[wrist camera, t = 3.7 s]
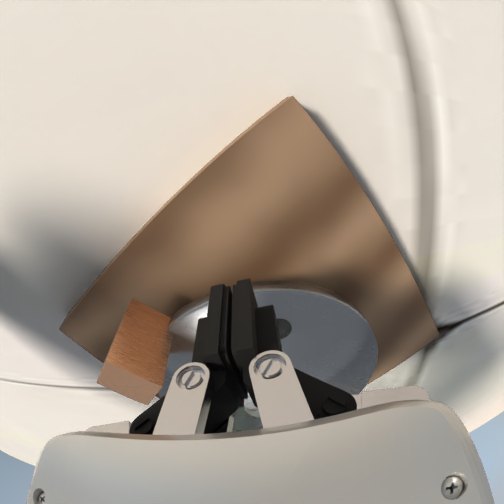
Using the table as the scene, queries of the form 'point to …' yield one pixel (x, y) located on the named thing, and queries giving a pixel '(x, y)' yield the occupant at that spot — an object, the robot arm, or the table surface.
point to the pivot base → (264, 240)
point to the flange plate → (291, 335)
